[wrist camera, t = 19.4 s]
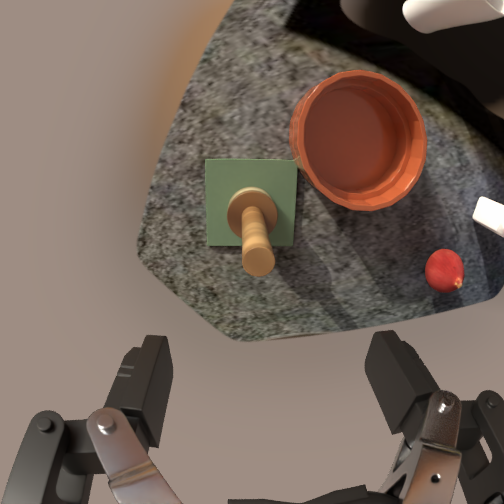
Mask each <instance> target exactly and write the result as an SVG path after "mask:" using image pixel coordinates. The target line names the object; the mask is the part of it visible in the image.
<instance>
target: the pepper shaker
mask: <svg viewBox="0 0 504 504" xmlns="http://www.w3.org/2000/svg"><path fill="white" fill-rule="evenodd" d="M473 219H474V221H476V222H477V223H479V224H481V225H482V226H484V227H486V228H487V229H489V230H491V231H493V232H495V233H496V234H498V235H500V236H502V237H503V238H504V205H502V204H500V203H497V202H495V201H493V200H490V199H488V198H485V197H480V198H479V200H478V203H477V206H476V208H475V211H474V214H473Z"/></svg>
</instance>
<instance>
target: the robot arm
mask: <svg viewBox="0 0 504 504" xmlns="http://www.w3.org/2000/svg"><path fill="white" fill-rule="evenodd" d="M365 372H366V375H367V377H368V380H369V382H370V384H371V386H372V388H373V391H374V393H375V395H376V398H377V400H378V402H379V405H380V407H381V409H382V412H383V414H384V416H385V419H386V421H387V424H388V426H389V428H390V430H391V433H392V435H393V434H397V433H401V432H403V434H404V437H403V439H402V441H401V443H400V446H399V449H398V452H397V454H396V457H395V460H394V462H393V464H392V467H391V470H390V472H389V474H388V477H387V478H386V480H385V482H384V483H383V484H382V486H381V487H380V489H379V491H378V492H373V491H367V489H366V486H365V485H360V486H356V487H351V488H347V489H342V490H336V491H333V492H330V493H328V494H325V495H323V496H320V497H318V498H315V499H312V500H310V501H307V502H304V503H289V502H281V501H274V500H267V499H244V500H243V499H241V500H240V499H239V500H237V499H234V500H232V499H228V504H451V501H452V497H453V493H454V489H455V485H456V482H457V477H458V478H459V481H460V484H461V486H462V489H463V492H464V495H465V498H466V501H467V504H504V400H503V399H502V397H501V396H500V395H499V394H498V393H496V392H494V391H491V390H486V391H483V392H481V393H480V394H479V396H478V397H477V399H476V400H472V401H460V400H459V398H458V397H457V396H456V395H454V394H453V393H452V392H449V391H445V390H440V388H439V386H438V385H437V383H436V382H435V380H434V378H433V377H432V375H431V374H430V372H429V371H428V369H427V368H426V366H424V363H423V362H422V360H421V359H419V355H418V354H417V353H416V351H415V349H414V348H413V347H412V346H410V345H409V344H408V343H406V342H405V341H401V340H400V339H399V337H398V335H397V334H396V332H394V331H393V330H388V331H379V332H375V333H374V335H373V338H372V341H371V344H370V347H369V351H368V353H367V356H366V359H365ZM172 379H173V364H172V359H171V354H170V349H169V344H168V339H167V337H166V336H157V335H147V336H146V337H145V339H144V342H143V344H142V347H141V348H139V347H133V348H132V349H131V350H130V351H129V352H128V353H127V354H126V355H125V356H124V359H123V361H122V363H121V367H120V368H119V370H118V373H117V376H116V378H115V380H114V383H113V385H112V388H111V390H110V392H109V395H108V397H107V400H106V403H105V405H104V407H103V408H101V409H98V410H96V411H95V412H93V413H92V414H91V415H90V416H89V418H88V419H84V420H70V421H69V420H67V421H64V420H63V419H62V417H61V416H60V415H59V414H58V413H56V412H54V411H50V410H49V411H42V412H40V413H38V414H36V415H35V416H34V417H33V419H32V420H31V422H30V424H29V427H28V429H27V431H26V433H25V436H24V438H23V441H22V443H21V446H20V449H19V451H18V454H17V457H16V459H15V462H14V465H13V467H12V471H11V473H10V476H9V479H8V482H7V485H6V489H5V492H4V496H3V499H2V503H1V504H88V501H89V496H90V490H91V485H92V480H93V476H94V474H107V476H108V479H109V482H108V484H109V487H110V489H111V491H112V493H113V495H114V497H115V499H116V501H117V502H118V504H182V502H181V501H180V500H179V498H178V497H177V496H176V494H175V493H174V492H173V490H172V489H171V488H170V486H169V485H168V483H167V482H166V481H165V479H164V478H163V476H162V475H161V473H160V472H159V470H158V469H157V467H156V466H155V465H154V464H153V462H152V461H151V459H150V457H149V456H148V450H149V447H156V448H159V442H160V437H161V432H162V427H163V422H164V417H165V413H166V408H167V403H168V398H169V394H170V389H171V385H172ZM483 436H484V438H485V440H486V442H487V444H488V446H489V448H490V450H491V452H492V461H491V463H489V461H488V459H487V456H486V454H485V452H484V450H483V448H482V446H481V444H480V441H479V440H480V439H481V438H482V437H483Z"/></svg>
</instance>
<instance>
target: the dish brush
mask: <svg viewBox="0 0 504 504" xmlns="http://www.w3.org/2000/svg"><path fill="white" fill-rule="evenodd" d="M277 220H278V212H277V208H276V206H275V204H274V201H273V199H272V198H271V196H270V195H269V194H268V193H267V192H266V191H265V190H263V189H261V188H258V187H245V188H242V189H240V190H239V191H237V192H236V193H235V194H234V195H233V196H232V198H231V199H230V202H229V205H228V211H227V222H228V225H229V227H230V229H231V230H232V232H233V233H234V234H235V235H237V236H238V237H240V238H242V264H243V267H244V269H245V271H246V272H247V273H249V274H250V275H252V276H257V277H260V276H264V275H267V274H268V273H270V272H271V271H272V269H273V268H274V265H275V257H274V253H273V249H272V246H271V242H270V238H269V234H270V233H271V232H272V231H273V229H274V228H275V226H276V224H277Z"/></svg>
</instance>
